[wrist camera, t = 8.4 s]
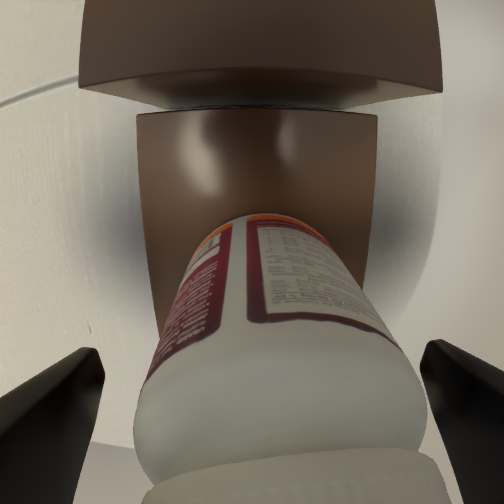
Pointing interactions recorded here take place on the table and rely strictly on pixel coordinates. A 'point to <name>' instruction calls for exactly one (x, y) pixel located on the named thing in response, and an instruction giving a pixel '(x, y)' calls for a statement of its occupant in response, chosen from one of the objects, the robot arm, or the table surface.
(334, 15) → the step shelf
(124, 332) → the table surface
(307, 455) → the pill bottle
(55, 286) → the table surface
